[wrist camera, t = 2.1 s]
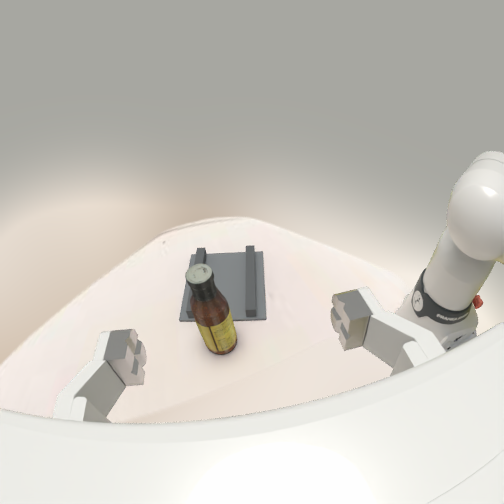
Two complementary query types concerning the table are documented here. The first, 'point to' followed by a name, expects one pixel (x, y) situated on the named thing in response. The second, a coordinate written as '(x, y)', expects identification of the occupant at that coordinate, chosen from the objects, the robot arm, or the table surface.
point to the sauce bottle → (210, 310)
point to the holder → (233, 283)
